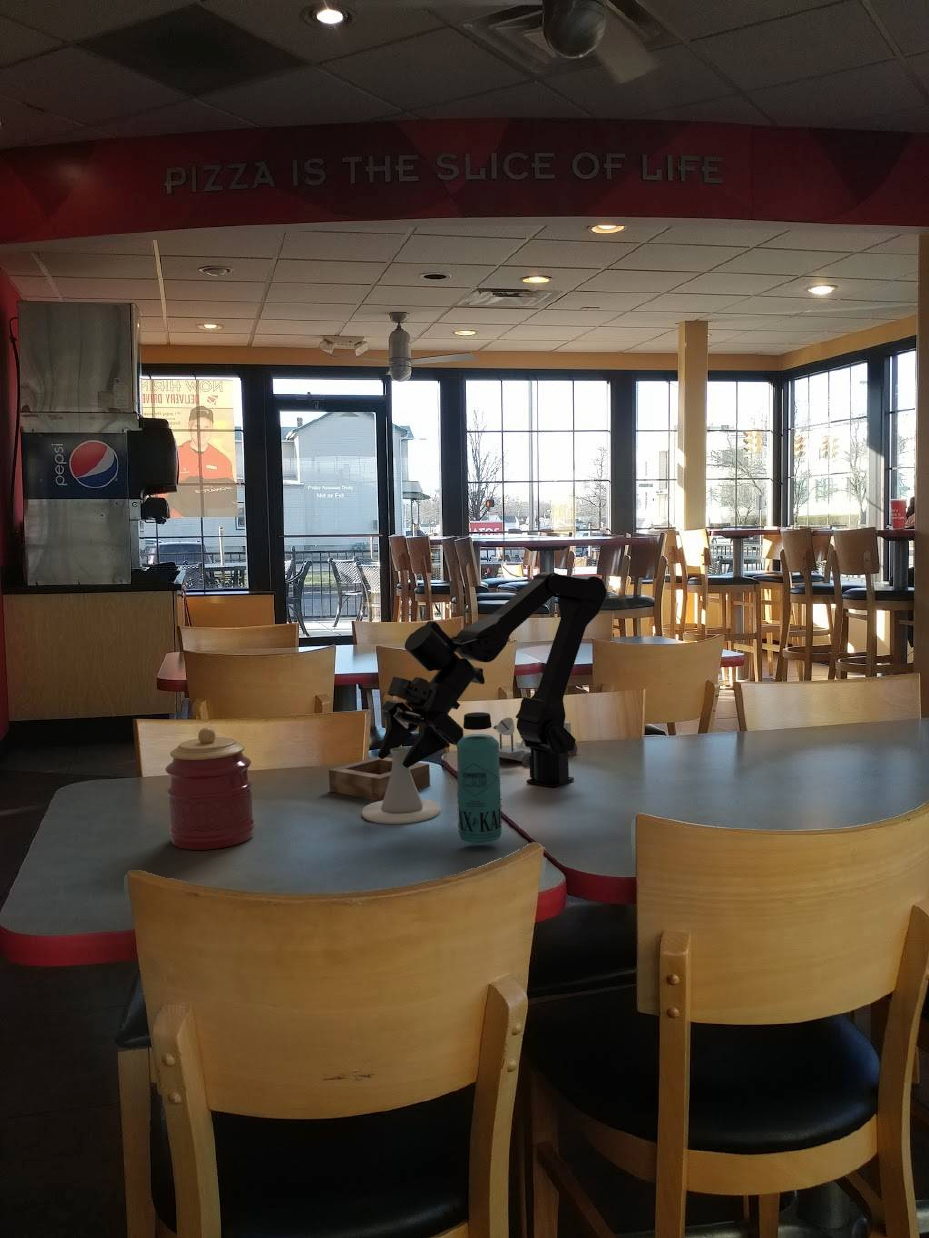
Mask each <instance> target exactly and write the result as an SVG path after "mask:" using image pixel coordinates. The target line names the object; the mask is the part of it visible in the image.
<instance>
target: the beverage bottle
mask: <svg viewBox="0 0 929 1238" xmlns="http://www.w3.org/2000/svg"><path fill="white" fill-rule="evenodd" d="M462 728H463V730H470V731H480V730H488V729H491V728H492V720H491V714H490V713H489V712H482V711H481V712H480V711H478V712H477V711H476V712H469V713H468V712H467V713H465V714H464V716H463V724H462ZM499 747H500V741H498V740H497V739H496V738H495V737H493V735H491V734H489V733H471V734H466V735H463V737H462V738H461V739H460V740H459V742H458V743H457V746H456V750H457V751H456V754H457V755H456V756H457V758H456V759H457V775H456V782H457V788H456V792H457V793H456V796H457V800H456V801H457V805H458V806H457V807H456V808H457V811H458V826H457V829H458V835H459V837H460V838H459V839H460V840H461V841H462V842H466V843H471V844H483V843H484V844H485V843H492V842H494V841H497V840H499V839H500V838H501V835H502V833H503V832H502V831H503V829H502V827H503V821H502V818H503V816H502V815H503V814H502V813H503V812H502V804H501V803H502V798H501V795H502V792H501V791H502V789H501V785H502V783H501V779H500V778H501V777H500V775H501V774H500V757H499Z"/></svg>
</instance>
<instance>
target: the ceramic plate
mask: <svg viewBox="0 0 929 1238" xmlns="http://www.w3.org/2000/svg"><path fill="white" fill-rule="evenodd" d="M421 801H422V803H423V807H422V809H418V810H414V811H410V812H394V813H390V812H387V811H384V810H381V807H382V803H383V800H382V801H375V802H372V803H369V804H367V805H365V806H364V807H363V808H362V810H361V812H362V818H364V820H365V821H368V822H371V823H377V824H383V825H385V824H386V825H403V824H413V823H418V822H425V821H427V820H428V821H429V820H430V819H433V818H436V817H437V816H438V815H440V813H441V805H440V803H439V802H436V801H435V800H430V799H426V798H421Z"/></svg>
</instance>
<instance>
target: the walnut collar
mask: <svg viewBox="0 0 929 1238" xmlns="http://www.w3.org/2000/svg"><path fill="white" fill-rule="evenodd" d="M409 769H410V773H411V775H412V778H413V781H414V783H415V786H416V788H417V790H420V789H423V788H427V787H431V777H430V776H431V772H430V771H431V770H430V764H429V763H423V762H420V761H419V762H417V763H416V764H414V765H412V766H410V767H409ZM391 770H392V758H391V757H388V756H387V757H386V758H384V759H380V758H379V757H378V756H374V757H372V758H368V759H364V760H360V761H356V762H353V763H349V764H345V765H342V766H338V767H334V768H331V769H330V768H329V769H328V783H329V792H331V793H338V794H343V795H348V796H352V797H358V798H364V799H367V800H373V801H376V802H378V801H383V800H384V796H385V793H386V790H387V786H388V783H389V779H390V775H391Z"/></svg>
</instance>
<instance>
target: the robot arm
mask: <svg viewBox="0 0 929 1238" xmlns="http://www.w3.org/2000/svg"><path fill="white" fill-rule="evenodd" d="M607 591H608V589H607V588H606V586H605V583H604V582H603V580H602V579H601V578H600V577H599V576H595V575H594V576H593V575H588V576H587V575H570V576H569V575H563V574H559V573H557V572H548V571H547V572H545V571H544V572H542V571H541V572H539V573H537V574H536V575H534V577H533V578H532V580H531V581H529V582H528V583H527V584H525V586H523V587H522V588H521V589H520V590H519V591H518V592H517V593H516V594H513V596H511V598H510V599H509V600H508V601H506V602H505V603H504V604H503V605H502V606H501V607H499V608H498V609H497V610H496V611H495V612H493V613H492V614H491V615H489V616H488V617H485V618H481V619H479V620H477V621H474V622H472V623H471V624H469V625H468V626H466V627H464V628H462V629H461V630H460V631H459V632H458V633H457V634H456V635H454V636H451V637H450V636H449V635H447V633H446V632H444V630H443V629H442V627H441V626H440V624H438V623H437V622H436V621H435V620H428V621H427V622H426V623H425V625H422V626H420V627H419V628H417V629H416V630H415V631H414V632H411V633H410V634H409V636H408V637H407V639H406V640H405V643H404V649H405V650H406V651H407V653H409V654H410V655H411V657H413V658H414V660H416V661H417V662H418V663H419V665H420V666H422V667H423V668H424V669H425V670H426V671H427V672H433V671H437V672H436V673H435V675H433V677H432V678H431V679H430V681H428V680H427V679H425V678H422V677H419V676H415V677H414V678H413V679H412V680H410V679H407V678H403V677H398V676H392V678H391V679H392V680H391V682H390V684H389V687H388V690H387V695H388V696H390V697H397V698H399V699H401V700H405V702H404V701H399V700H395V699H392V700H386V702H385V703H384V705H383V706H382V707H381V708H380V710H381V712H382V713H383V717H384V718H385V721H386V728H385V732H384V735H383V738H382V742H381V744H380V748H379V751H378V753H377V757H379V758H380V759H384V758H386V757H388V756H390V755H392V754H391V753H390V750H391V749H393V748H401V746H403V744H405V743H406V742H408V740H409V739H411V738H413V736H414V734H413V732H415V731H416V730H417V728H418V735H417V737H416V739H415V740H414V741H413V744H412V745H411V747H410V748H409V752H408V754H407V755H406V757H405V759H404V761H403V763H402V765H403V766H404V767H406V768H409V767H410V766H412V765H414V764H416V763H417V762H419V763H420V762H421V761H422V760H425V759H426V758H428V757H430V756H432V755H434V754H436V753H438V752H440V751H441V750H444V749H446V748H447V749H448V748H449V747H451V745H454V746H456V747H457V743H458V742H459V740H460V739H461V738H462V737H464V728H463V726H461V725H460V724H459V723H458V722H457V721H455V720H454V718H452V716H450V715H449V713H450V712H451V710H452V709H453V710H458V709H459V708H460V706H461V704H460V703H459V702H458V701H459V700H460V698H461V697H462V696H463V694H464V692H465V691H466V690H467V688H468V687H469V685H470V684H471V683H474V684H478V685H485V682H486V681H485V677H484V669H483V667H482V668H481V667H476V666H474V665H473V664H472V663H471V662H470V661H472V662H473V661H475V662H482V663H490V662H492V661H494V660H495V659H497V657H498V656H499V655H500V654H501V652H502V651H503V650H504V649H505V647H506V646H507V643H508V640H509V639H510V638H509V637H510V636H511V634H513V632H514V631H516V629H518V628H519V627H520V626H521V625H523V623H525V622H526V621H527V620H528V619H529V618H530V617H531V616H533V615H534V614H535V613H536V612H537V611H539V609H540V608H541V607H542V606H544V605H545V604H546V603H547V602H548V601H550V600H551V599H552V598H558V602H557V604H558V609H559V616H560V619H559V622H558V626H557V629H556V632H555V635H554V638H553V641H552V645H551V647H550V651H549V655H548V657H547V659H546V663H545V666H544V669H543V672H542V676H541V678H540V681H539V684H538V688H537V690H536V692H535V693H534V694H533V695H532V696H531V697H528V696H524V697H522V699H521V700H520V701H521V702H520V707H519V710H518V712H517V714H516V715H515V719H517V721H516V729H517V731H518V734H519V736H521V737H522V738H523V739H522V738H521V737H520V738H521V739H522V740H523V741H524V744H525V746H526V747H530V748H531V755H530V756H529V764H530V766H529V777H530V778H528V779H526V782H525V783H526V784H533V785H537V786H544V787H549V788H556V787H559V786H562V785H564V784H567V783H570V782H573V781H574V780H575V777H574V776H573V777H572V776H570V774H569V773H570V771H569V769H570V768H569V756H568V751H573V749H574V745H575V744H576V738H575V737H574V736H573V735H572V733H571V734H570V733H569V732H568V731H567V730H566V729H565V728H564V722H566V715H567V714H566V710H565V703H564V697H565V694H566V692H567V688H568V685H569V682H570V679H571V675H572V673H573V669H574V665H575V664H576V660H577V657H578V653H579V650H580V646H581V644H582V640H583V639H584V638H583V637H584V635H585V631H586V628H587V626H588V625H589V624H591V622H592V621H593V620H594V619H595V617H597V615H598V614H600V610H601V609H602V606H603V605H604V603H605V601H606V598H607V594H608V592H607ZM456 653H457V654H458V655H457V654H456Z"/></svg>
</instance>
